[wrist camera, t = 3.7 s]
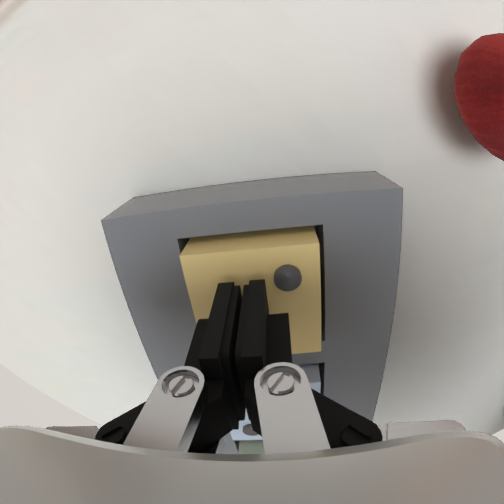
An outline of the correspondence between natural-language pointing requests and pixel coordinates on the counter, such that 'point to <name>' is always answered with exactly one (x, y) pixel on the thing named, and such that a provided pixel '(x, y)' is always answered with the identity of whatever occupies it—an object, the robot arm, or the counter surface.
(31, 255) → the counter surface
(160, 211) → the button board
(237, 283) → the tile three
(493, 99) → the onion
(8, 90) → the counter surface
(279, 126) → the counter surface
